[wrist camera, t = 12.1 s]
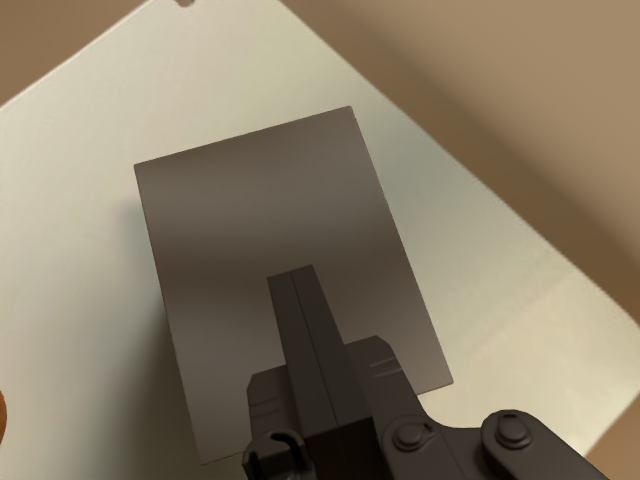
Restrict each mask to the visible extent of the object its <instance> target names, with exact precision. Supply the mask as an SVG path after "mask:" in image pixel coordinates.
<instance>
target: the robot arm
mask: <svg viewBox="0 0 640 480" xmlns="http://www.w3.org/2000/svg"><path fill="white" fill-rule="evenodd" d="M267 282H268V286H269V291H270V295H271V300H272V304H273V308H274V313H275V317H276V322H277V326H278V330H279V335H280V339H281V344H282V348H283V352H284V357H285V361H286V364H284V365H281V366H278V367H275V368H271V369H268V370H265V371H262V372H259V373H255V374H252V376H251V379H250V382H249V384H248V387H247V390H246V392H247V400H248V407H249V408H248V409H249V418H250V426H251V435H252V441H251V442H250V443H249V444H248V446H247V448H246V450H245V451H244V453H243V459H242V466H243V468H244V471H245V473H246V475H247V478H248V480H610V479H608V478H607V477H606V476H605V475H604V474H602V473H601V472H600V471H599V470H598V469H596V468H595V467H594V466H593V465H592V464H590V463H589V462H588V461H587V460H586V459H585V458H583V457H582V456H581V455H580V454H579V453H577V452H576V451H575V450H574V449H573V448H571V447H570V446H569V445H568V444H567V443H565V442H564V441H563V440H562V439H561V438H560V437H558V436H557V435H556V434H555V433H554V432H552V431H551V430H550V429H549V428H548V427H546V426H545V425H544V424H543V423H542V422H540V421H539V420H538V419H537V418H535V417H533V416H532V415H530V414H528V413H526V412H522V411H518V410H514V409H513V410H500V411H497V412H495V413H492V414H490V415H489V416H488V417H487V418H486V419H485V420H484V421H483V423H482V426H481V428H452V427H448V426H444V425H442V424H440V423H438V422H436V421H434V420H433V419H432V418H430V417H429V416H428V415H427V413H426V412H425V411H424V409H423V407H422V405H421V403H420V402H419V400H418V398H417V396H416V394H415V392H414V390H413V388H412V386H411V384H410V382H409V380H408V378H407V377H406V375H405V373H404V371H403V370H402V367H401V365H400V363H399V361H398V360H397V357H396V355H395V354H394V352H393V350H392V348H391V346H390V344H389V343H387V342H386V341H384V340H383V339H382V338H380V337H379V336H377V335H374V336H371V337H368V338H364V339H361V340H358V341H355V342H351V343H348V344H345V345H344V343H343V340H342V338H341V335H340V333H339V330H338V328H337V325H336V323H335V320H334V318H333V315H332V313H331V310H330V308H329V305H328V302H327V300H326V297H325V295H324V292H323V290H322V287H321V285H320V282H319V280H318V277H317V275H316V272H315V270H314V267H313V265H312V264H311V265H307V266H304V267H300V268H297V269H294V270H290V271H287V272H283V273H280V274H277V275H273V276H270V277H267Z"/></svg>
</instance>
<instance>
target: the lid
mask: <svg viewBox="0 0 640 480" xmlns="http://www.w3.org/2000/svg"><path fill="white" fill-rule="evenodd" d="M134 170H135V175H136V179H137V184H138V188H139V193H140V197H141V202H142V206H143V211H144V215H145V220H146V224H147V229H148V233H149V238H150V242H151V247H152V251H153V256H154V260H155V265H156V269H157V274H158V278H159V283H160V287H161V292H162V296H163V301H164V305H165V310H166V314H167V319H168V323H169V328H170V332H171V337H172V341H173V346H174V350H175V355H176V359H177V364H178V368H179V373H180V377H181V382H182V386H183V391H184V395H185V400H186V404H187V409H188V413H189V418H190V422H191V427H192V431H193V436H194V440H195V445H196V449H197V454H198V458H199V463H200V465H201V466H204V465H207V464H210V463H213V462H216V461H219V460H222V459H225V458H228V457H231V456H234V455H237V454H240V453H243V452H244V451H245V450H246V448H247V446H248V444H249V443H250V442H251V441H252V435H251V426H250V418H249V409H248V408H249V407H248V400H247V392H246V390H247V387H248V384H249V382H250V379H251V376H252V374H255V373H259V372H262V371H265V370H268V369H271V368H275V367H278V366H281V365H284V364H286V361H285V357H284V352H283V348H282V344H281V339H280V335H279V330H278V326H277V322H276V317H275V313H274V308H273V304H272V300H271V295H270V291H269V286H268V282H267V277H270V276H273V275H277V274H280V273H283V272H287V271H290V270H294V269H297V268H300V267H304V266H307V265H311V264H312V265H313V267H314V270H315V272H316V275H317V277H318V280H319V282H320V285H321V287H322V290H323V292H324V295H325V297H326V300H327V302H328V305H329V308H330V310H331V313H332V315H333V318H334V320H335V323H336V325H337V328H338V330H339V333H340V335H341V338H342V340H343V343H344V345H345V344H348V343H351V342H355V341H358V340H361V339H364V338H368V337H371V336H374V335H377V336H379V337H380V338H382V339H383V340H384V341H386V342H387V343H389V344H390V346H391V348H392V350H393V352H394V354H395V355H396V357H397V360H398V361H399V363H400V365H401V367H402V370H403V371H404V373H405V375H406V377H407V378H408V380H409V382H410V384H411V386H412V388H413V390H414V392H415V394H416V396H417V395H420V394H423V393H426V392H429V391H433V390H436V389H439V388H442V387H445V386H448V385H451V384H453V383H454V381H453V378H452V376H451V373H450V370H449V368H448V365H447V362H446V360H445V357H444V354H443V352H442V349H441V346H440V343H439V341H438V338H437V335H436V333H435V330H434V327H433V325H432V322H431V319H430V317H429V314H428V311H427V309H426V306H425V303H424V301H423V298H422V295H421V293H420V290H419V287H418V284H417V282H416V279H415V276H414V274H413V271H412V268H411V266H410V263H409V260H408V258H407V255H406V252H405V250H404V247H403V244H402V242H401V239H400V236H399V233H398V231H397V228H396V225H395V223H394V220H393V217H392V215H391V212H390V209H389V207H388V204H387V201H386V199H385V196H384V193H383V191H382V188H381V185H380V183H379V180H378V177H377V174H376V172H375V169H374V166H373V164H372V161H371V158H370V156H369V153H368V150H367V148H366V145H365V142H364V140H363V137H362V134H361V132H360V129H359V126H358V123H357V121H356V118H355V115H354V113H353V110H352V107H351V106H346V107H342V108H339V109H335V110H332V111H328V112H324V113H321V114H317V115H313V116H310V117H306V118H302V119H299V120H295V121H291V122H288V123H284V124H280V125H277V126H273V127H269V128H266V129H262V130H259V131H255V132H251V133H248V134H244V135H240V136H237V137H233V138H229V139H226V140H222V141H218V142H215V143H211V144H207V145H204V146H200V147H196V148H193V149H189V150H186V151H182V152H178V153H175V154H171V155H167V156H164V157H160V158H156V159H153V160H149V161H145V162H142V163H138V164H135V165H134Z"/></svg>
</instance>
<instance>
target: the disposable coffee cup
mask: <svg viewBox="0 0 640 480" xmlns="http://www.w3.org/2000/svg"><path fill="white" fill-rule="evenodd" d="M6 419H7V414H6V404H5V401H4V397H3V395H2V393H1V391H0V443H1V441H2V438H3V434H4V430H5V427H6Z"/></svg>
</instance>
